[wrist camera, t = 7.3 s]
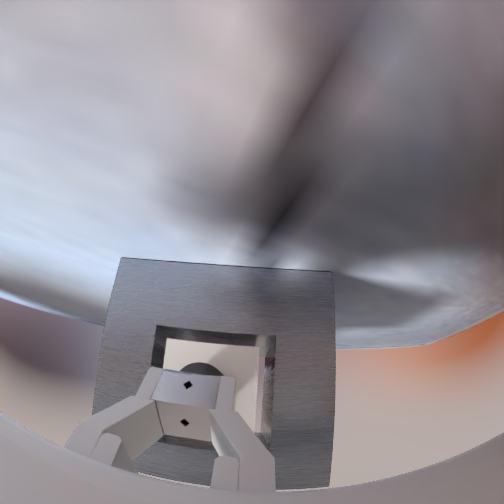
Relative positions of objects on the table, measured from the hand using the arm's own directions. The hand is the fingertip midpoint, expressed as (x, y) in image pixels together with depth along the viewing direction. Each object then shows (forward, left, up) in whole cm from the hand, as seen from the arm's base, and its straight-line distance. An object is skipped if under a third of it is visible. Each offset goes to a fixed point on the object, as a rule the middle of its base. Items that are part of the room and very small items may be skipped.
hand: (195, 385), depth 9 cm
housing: (-2, -7, -6) cm, 10 cm away
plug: (-3, -9, -2) cm, 10 cm away
